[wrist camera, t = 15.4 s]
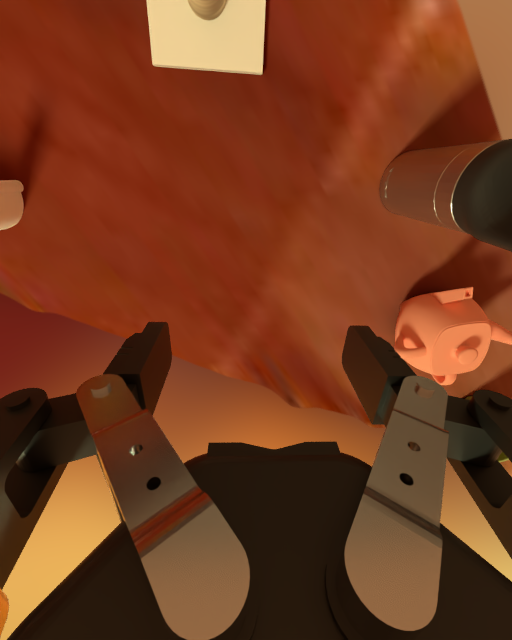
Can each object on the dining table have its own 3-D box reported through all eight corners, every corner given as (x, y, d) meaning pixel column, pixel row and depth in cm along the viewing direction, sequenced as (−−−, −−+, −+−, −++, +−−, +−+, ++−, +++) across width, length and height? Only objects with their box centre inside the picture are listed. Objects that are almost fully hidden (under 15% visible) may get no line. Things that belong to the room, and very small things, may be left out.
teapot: (427, 263, 52) (484, 291, 40) (481, 307, 57) (546, 344, 45) (365, 328, 57) (399, 370, 45) (420, 363, 63) (463, 409, 51)
